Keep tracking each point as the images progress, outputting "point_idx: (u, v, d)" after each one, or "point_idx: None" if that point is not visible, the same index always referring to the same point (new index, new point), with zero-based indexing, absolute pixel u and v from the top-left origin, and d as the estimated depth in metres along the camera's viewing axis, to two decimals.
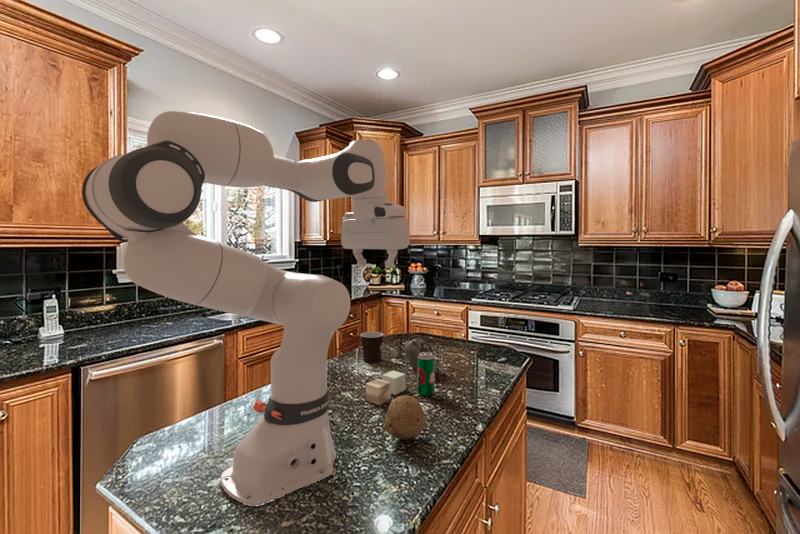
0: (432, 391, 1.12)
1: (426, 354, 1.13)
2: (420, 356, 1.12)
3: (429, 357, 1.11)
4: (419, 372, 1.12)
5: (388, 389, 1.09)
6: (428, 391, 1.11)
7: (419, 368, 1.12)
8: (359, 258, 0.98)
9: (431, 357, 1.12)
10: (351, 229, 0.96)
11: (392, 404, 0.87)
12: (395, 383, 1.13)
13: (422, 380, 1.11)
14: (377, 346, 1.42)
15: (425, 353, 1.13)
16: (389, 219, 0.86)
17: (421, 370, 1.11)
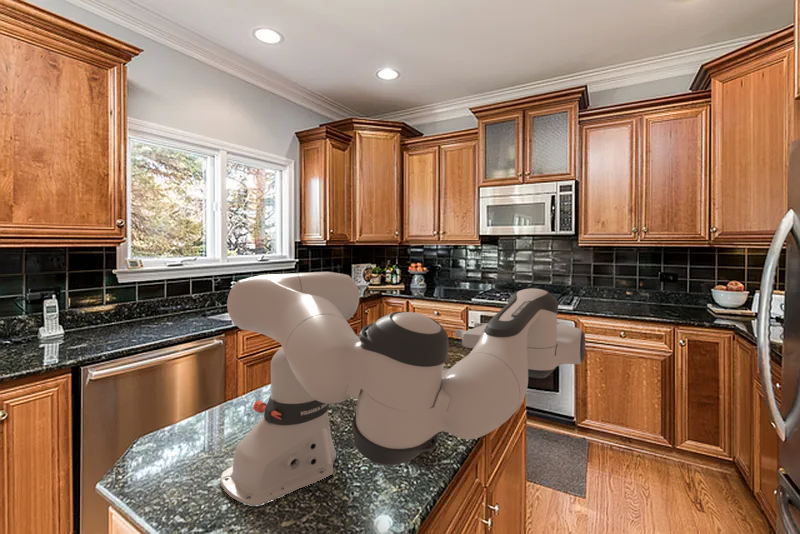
0: None
1: None
2: None
3: None
4: None
5: None
6: None
7: None
8: None
9: None
10: None
11: None
12: None
13: None
14: None
15: None
16: None
17: None
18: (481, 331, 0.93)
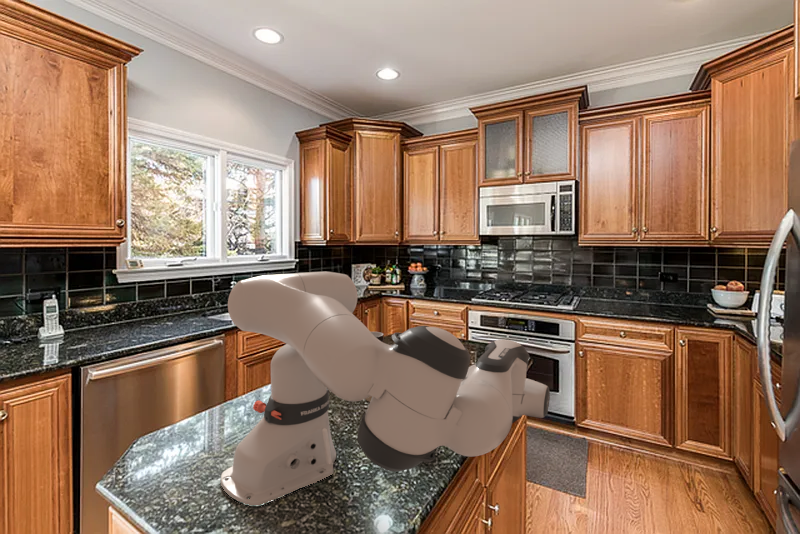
0: None
1: None
2: None
3: None
4: None
5: None
6: None
7: None
8: None
9: None
10: None
11: None
12: None
13: None
14: None
15: None
16: None
17: None
18: None
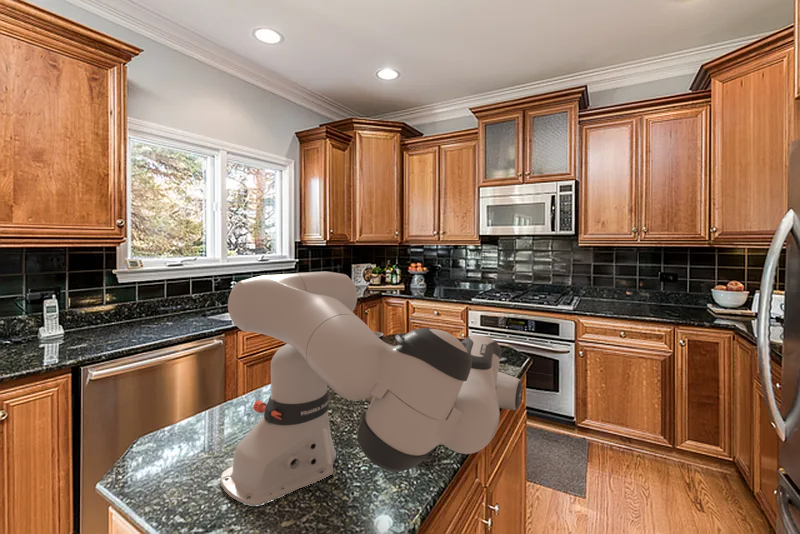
0: None
1: None
2: None
3: None
4: None
5: None
6: None
7: None
8: None
9: None
10: None
11: None
12: None
13: None
14: None
15: None
16: None
17: None
18: None
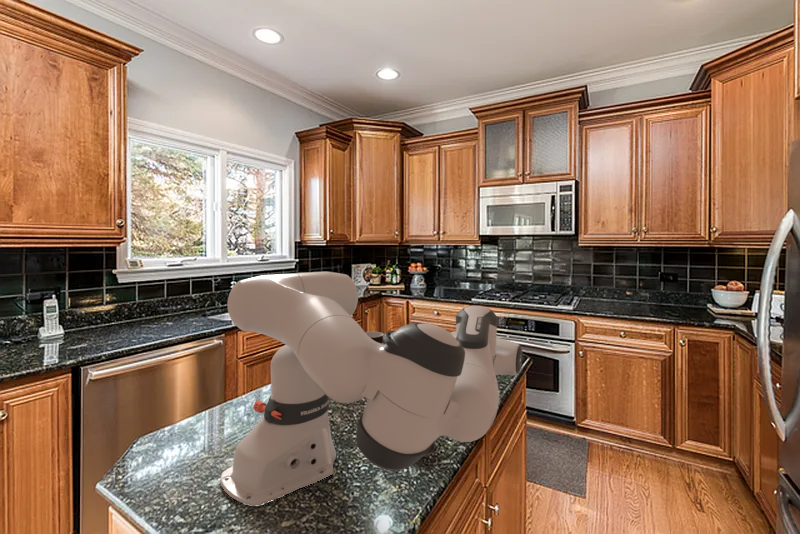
0: None
1: None
2: None
3: None
4: None
5: None
6: None
7: None
8: None
9: None
10: None
11: None
12: None
13: None
14: None
15: None
16: None
17: None
18: None
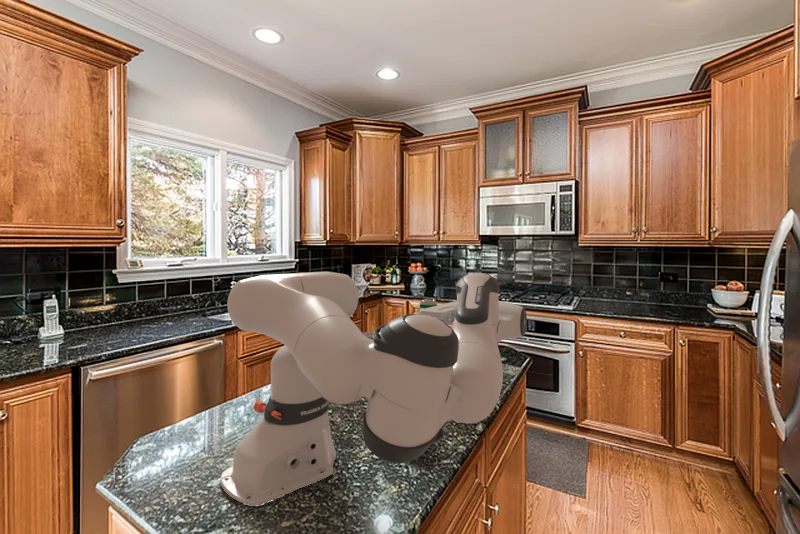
0: None
1: (429, 300, 1.11)
2: (422, 302, 1.10)
3: (432, 303, 1.09)
4: None
5: None
6: None
7: None
8: None
9: (434, 303, 1.10)
10: None
11: None
12: None
13: None
14: None
15: (428, 300, 1.12)
16: None
17: None
18: (436, 309, 1.02)
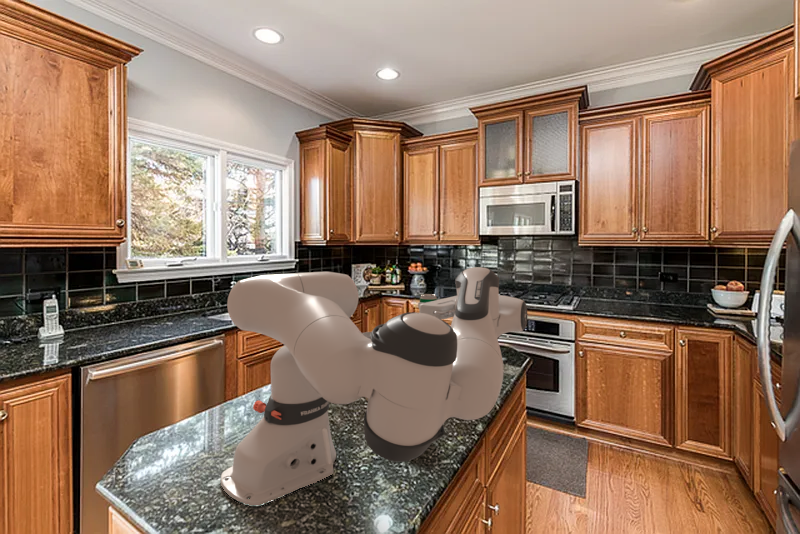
0: None
1: (429, 295, 1.10)
2: (423, 296, 1.10)
3: (432, 297, 1.09)
4: None
5: None
6: None
7: None
8: None
9: (434, 297, 1.09)
10: None
11: None
12: None
13: None
14: None
15: (428, 294, 1.11)
16: None
17: None
18: (437, 303, 1.01)
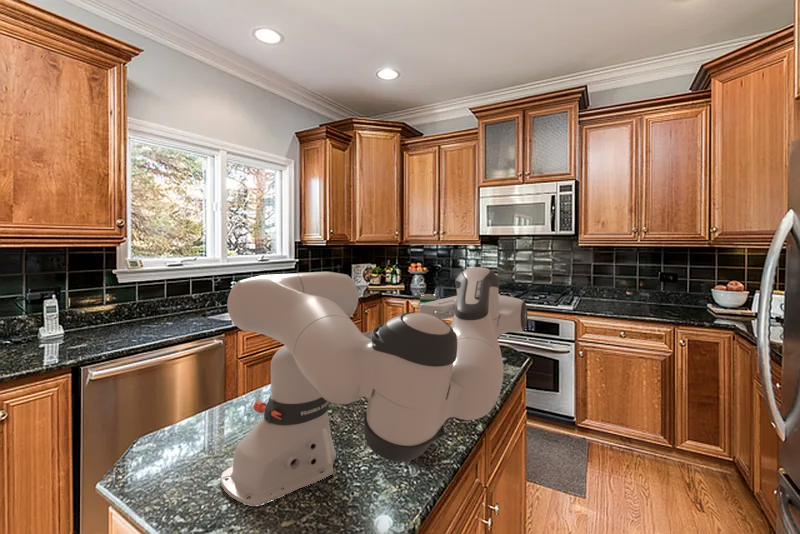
0: None
1: (429, 295, 1.10)
2: (423, 296, 1.10)
3: (432, 297, 1.09)
4: None
5: None
6: None
7: None
8: None
9: (434, 297, 1.09)
10: None
11: None
12: None
13: None
14: None
15: (428, 294, 1.11)
16: None
17: None
18: (437, 303, 1.01)
